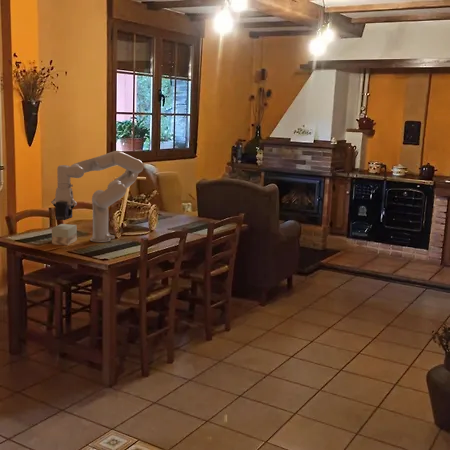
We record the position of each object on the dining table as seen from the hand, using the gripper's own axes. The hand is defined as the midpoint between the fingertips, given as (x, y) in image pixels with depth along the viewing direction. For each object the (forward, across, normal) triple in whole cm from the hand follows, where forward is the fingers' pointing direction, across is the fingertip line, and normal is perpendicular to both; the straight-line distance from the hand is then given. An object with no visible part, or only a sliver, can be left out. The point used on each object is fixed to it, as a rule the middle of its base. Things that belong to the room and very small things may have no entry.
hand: (64, 214), depth 359 cm
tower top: (+12, 0, 0) cm, 12 cm away
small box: (+2, 0, 0) cm, 2 cm away
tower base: (+17, 0, 0) cm, 17 cm away
